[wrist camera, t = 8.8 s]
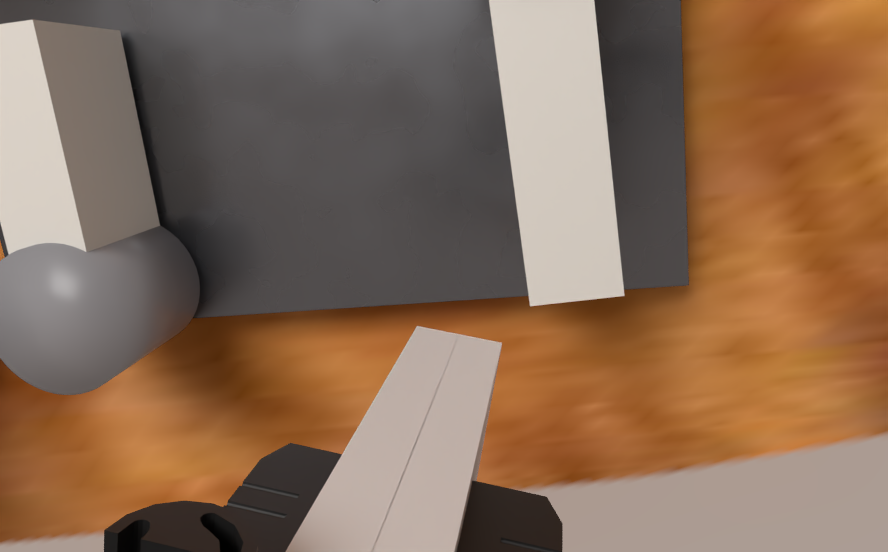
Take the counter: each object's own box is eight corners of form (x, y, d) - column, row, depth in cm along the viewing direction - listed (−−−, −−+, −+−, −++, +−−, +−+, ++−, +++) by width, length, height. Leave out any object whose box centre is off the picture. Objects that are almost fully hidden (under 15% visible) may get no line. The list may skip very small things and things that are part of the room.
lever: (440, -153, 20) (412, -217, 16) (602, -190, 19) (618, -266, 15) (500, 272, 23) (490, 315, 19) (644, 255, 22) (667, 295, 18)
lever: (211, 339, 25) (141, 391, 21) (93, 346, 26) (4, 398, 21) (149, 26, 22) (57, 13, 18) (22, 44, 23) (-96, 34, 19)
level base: (662, -287, 20) (748, -561, 12) (679, 272, 24) (754, 378, 15) (-66, -151, 24) (-411, -283, 15) (50, 316, 28) (-172, 421, 19)
